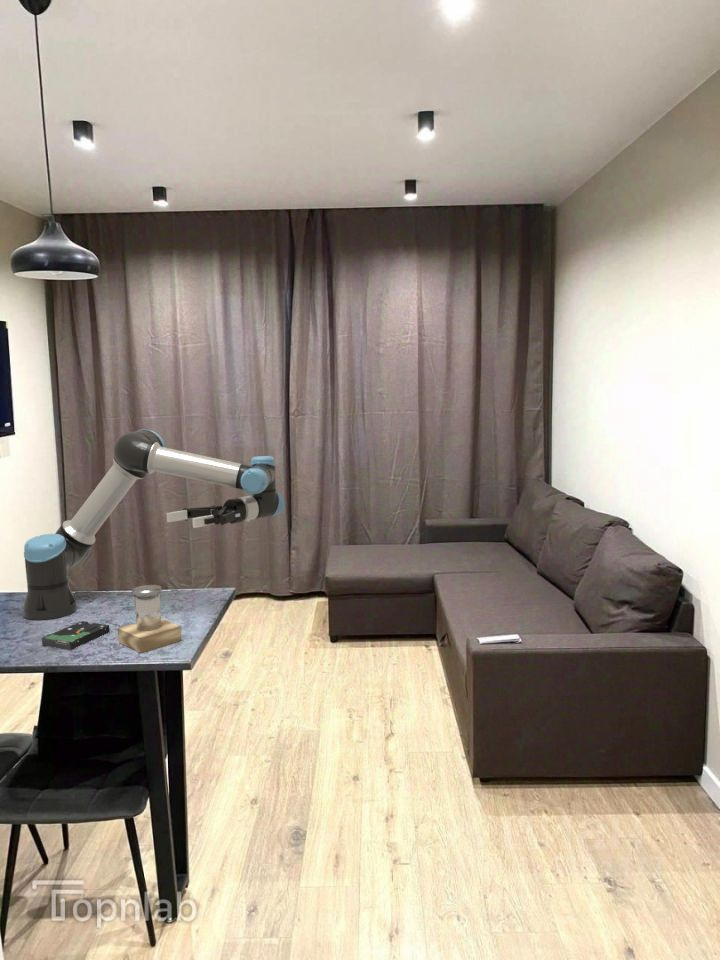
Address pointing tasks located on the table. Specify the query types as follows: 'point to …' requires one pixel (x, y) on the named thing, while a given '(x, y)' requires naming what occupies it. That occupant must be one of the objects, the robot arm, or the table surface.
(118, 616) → the table surface
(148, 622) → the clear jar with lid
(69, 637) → the disk drive
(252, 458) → the robot arm
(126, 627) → the stand
